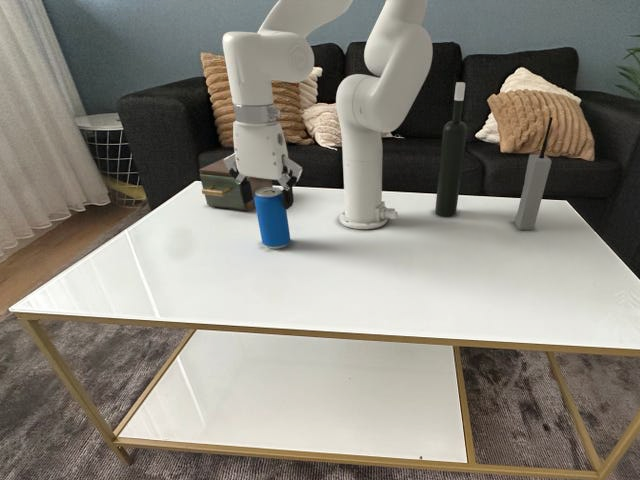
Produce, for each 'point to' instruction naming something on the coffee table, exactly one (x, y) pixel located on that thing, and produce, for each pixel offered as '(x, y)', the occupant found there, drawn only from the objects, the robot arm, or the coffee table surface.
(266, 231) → the beverage can
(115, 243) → the coffee table surface
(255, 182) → the cabinet
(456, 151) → the wine bottle
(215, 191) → the drawer
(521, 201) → the vintage mobile phone
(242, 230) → the coffee table surface
